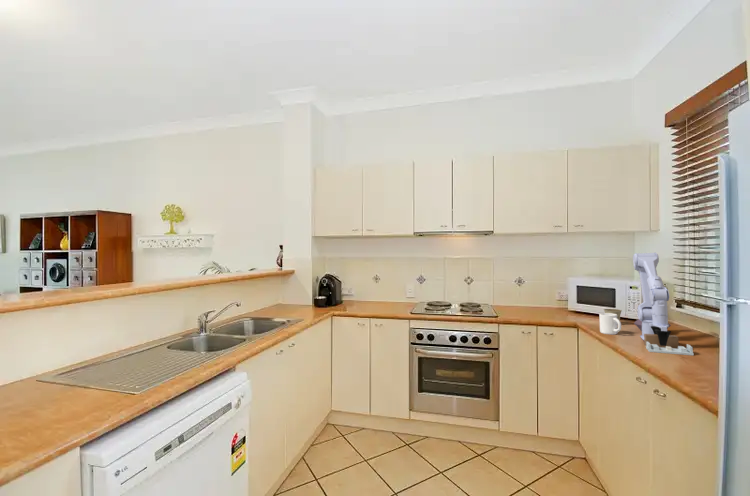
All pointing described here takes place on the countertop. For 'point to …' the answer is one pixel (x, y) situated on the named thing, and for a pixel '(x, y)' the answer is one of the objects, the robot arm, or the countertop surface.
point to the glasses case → (654, 339)
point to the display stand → (670, 349)
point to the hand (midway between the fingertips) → (661, 343)
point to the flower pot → (614, 312)
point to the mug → (609, 323)
